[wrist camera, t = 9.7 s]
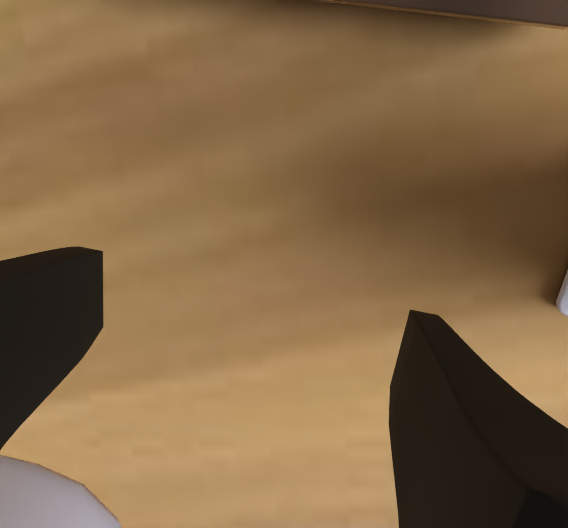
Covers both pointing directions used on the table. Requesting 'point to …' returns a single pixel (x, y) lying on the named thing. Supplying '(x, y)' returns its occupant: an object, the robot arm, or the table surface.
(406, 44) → the table surface
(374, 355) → the table surface
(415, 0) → the stand
